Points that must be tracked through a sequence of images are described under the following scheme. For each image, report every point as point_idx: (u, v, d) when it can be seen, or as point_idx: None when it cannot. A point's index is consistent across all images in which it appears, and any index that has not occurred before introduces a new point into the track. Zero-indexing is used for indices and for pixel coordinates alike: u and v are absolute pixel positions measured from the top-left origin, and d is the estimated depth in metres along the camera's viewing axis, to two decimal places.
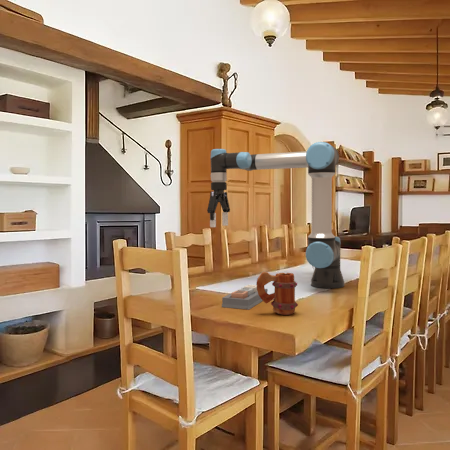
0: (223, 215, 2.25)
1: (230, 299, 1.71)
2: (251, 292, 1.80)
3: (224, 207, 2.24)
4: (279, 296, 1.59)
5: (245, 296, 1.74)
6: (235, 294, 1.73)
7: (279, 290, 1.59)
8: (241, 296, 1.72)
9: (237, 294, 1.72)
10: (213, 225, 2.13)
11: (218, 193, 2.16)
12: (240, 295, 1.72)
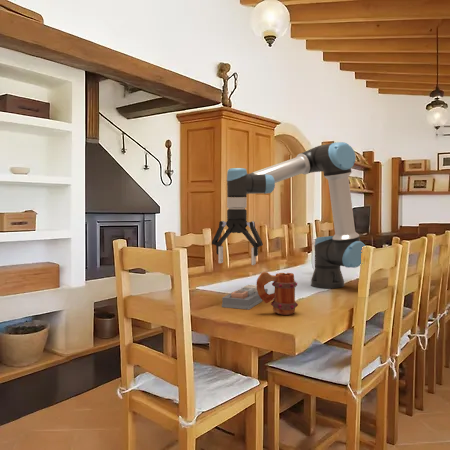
0: None
1: (230, 299, 1.71)
2: (251, 292, 1.80)
3: None
4: (279, 296, 1.59)
5: (245, 296, 1.74)
6: (235, 294, 1.73)
7: (279, 290, 1.59)
8: (241, 296, 1.72)
9: (237, 294, 1.72)
10: None
11: (229, 223, 1.76)
12: (240, 295, 1.72)
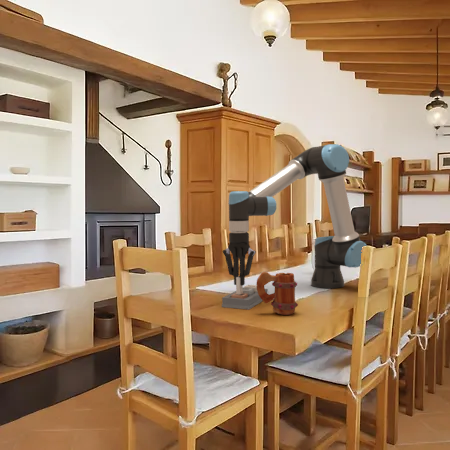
0: None
1: (230, 299, 1.71)
2: (251, 292, 1.80)
3: None
4: (279, 296, 1.59)
5: None
6: (235, 296, 1.73)
7: (279, 290, 1.59)
8: (241, 298, 1.72)
9: (237, 296, 1.72)
10: None
11: (230, 246, 1.74)
12: (240, 297, 1.72)
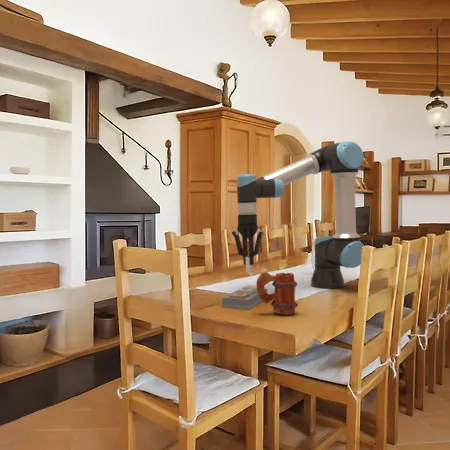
0: None
1: (230, 299, 1.71)
2: (251, 292, 1.80)
3: None
4: (279, 296, 1.59)
5: None
6: (235, 296, 1.73)
7: (279, 290, 1.59)
8: (241, 298, 1.72)
9: (237, 296, 1.72)
10: None
11: (239, 227, 1.81)
12: None
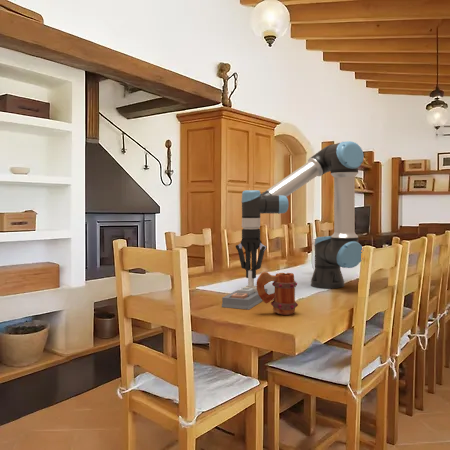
0: None
1: (230, 299, 1.71)
2: (251, 292, 1.80)
3: None
4: (279, 296, 1.59)
5: None
6: (235, 296, 1.73)
7: (279, 290, 1.59)
8: (241, 298, 1.72)
9: (237, 296, 1.72)
10: None
11: (243, 241, 1.86)
12: None
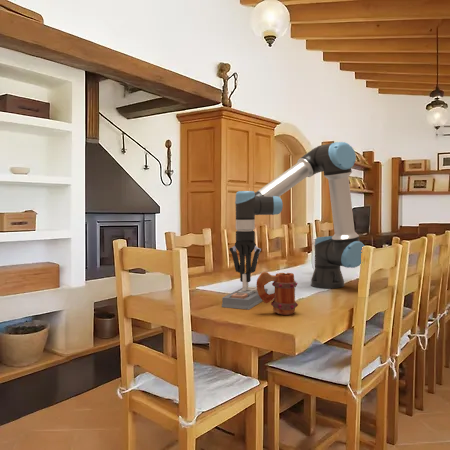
0: None
1: (230, 299, 1.71)
2: (251, 294, 1.80)
3: None
4: (279, 296, 1.59)
5: None
6: (235, 296, 1.73)
7: (279, 290, 1.59)
8: (241, 298, 1.72)
9: (237, 296, 1.72)
10: None
11: (237, 244, 1.80)
12: None
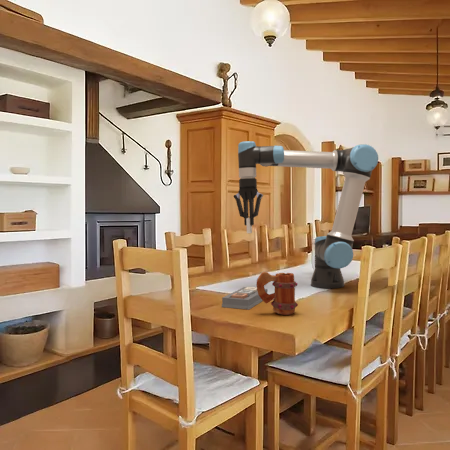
0: None
1: (230, 299, 1.71)
2: (251, 294, 1.80)
3: None
4: (279, 296, 1.59)
5: None
6: (235, 296, 1.73)
7: (279, 290, 1.59)
8: (241, 298, 1.72)
9: (237, 296, 1.72)
10: None
11: (240, 191, 1.96)
12: None
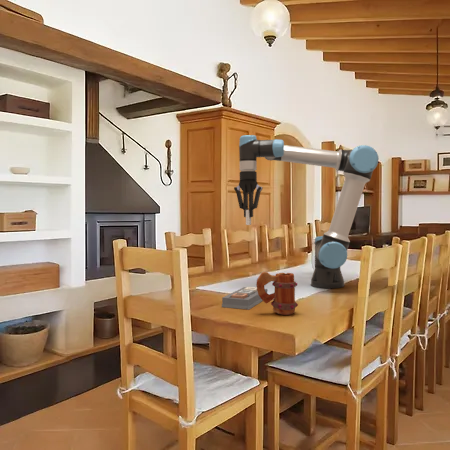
0: None
1: (230, 299, 1.71)
2: (251, 294, 1.80)
3: None
4: (279, 296, 1.59)
5: None
6: (235, 296, 1.73)
7: (279, 290, 1.59)
8: (241, 298, 1.72)
9: (237, 296, 1.72)
10: None
11: (241, 183, 2.01)
12: None
